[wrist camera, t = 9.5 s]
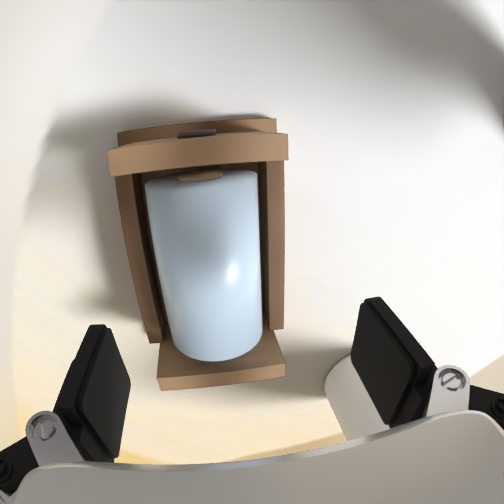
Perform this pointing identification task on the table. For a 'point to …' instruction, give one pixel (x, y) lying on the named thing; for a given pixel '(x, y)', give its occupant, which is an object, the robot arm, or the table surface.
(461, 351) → the table surface
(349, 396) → the milk bottle
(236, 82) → the table surface
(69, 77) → the table surface
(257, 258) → the cylinder
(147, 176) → the holder
